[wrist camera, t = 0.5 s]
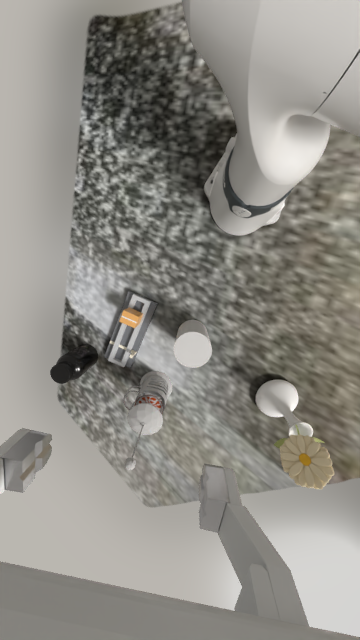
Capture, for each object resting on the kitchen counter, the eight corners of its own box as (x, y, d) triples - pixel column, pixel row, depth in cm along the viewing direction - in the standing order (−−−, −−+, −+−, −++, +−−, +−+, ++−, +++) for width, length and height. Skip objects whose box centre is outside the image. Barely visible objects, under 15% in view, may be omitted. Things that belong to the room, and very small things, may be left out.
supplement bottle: (97, 367, 56) (72, 391, 44) (75, 362, 56) (44, 384, 44) (100, 346, 54) (75, 364, 43) (77, 341, 55) (45, 358, 43)
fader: (130, 306, 50) (123, 310, 44) (144, 313, 50) (139, 317, 44) (126, 317, 50) (118, 321, 45) (140, 323, 50) (134, 328, 45)
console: (130, 290, 51) (124, 292, 46) (157, 303, 51) (154, 305, 46) (106, 354, 55) (99, 361, 50) (132, 365, 55) (126, 373, 51)
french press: (162, 406, 57) (141, 500, 33) (128, 388, 57) (81, 470, 32) (178, 380, 55) (168, 461, 31) (143, 362, 55) (104, 429, 30)
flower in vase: (295, 375, 53) (385, 458, 28) (293, 411, 55) (374, 516, 31) (247, 377, 54) (294, 459, 29) (247, 412, 56) (291, 515, 32)
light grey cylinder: (172, 340, 53) (167, 358, 41) (185, 314, 51) (183, 325, 39) (199, 352, 53) (201, 373, 41) (212, 327, 51) (218, 341, 40)
